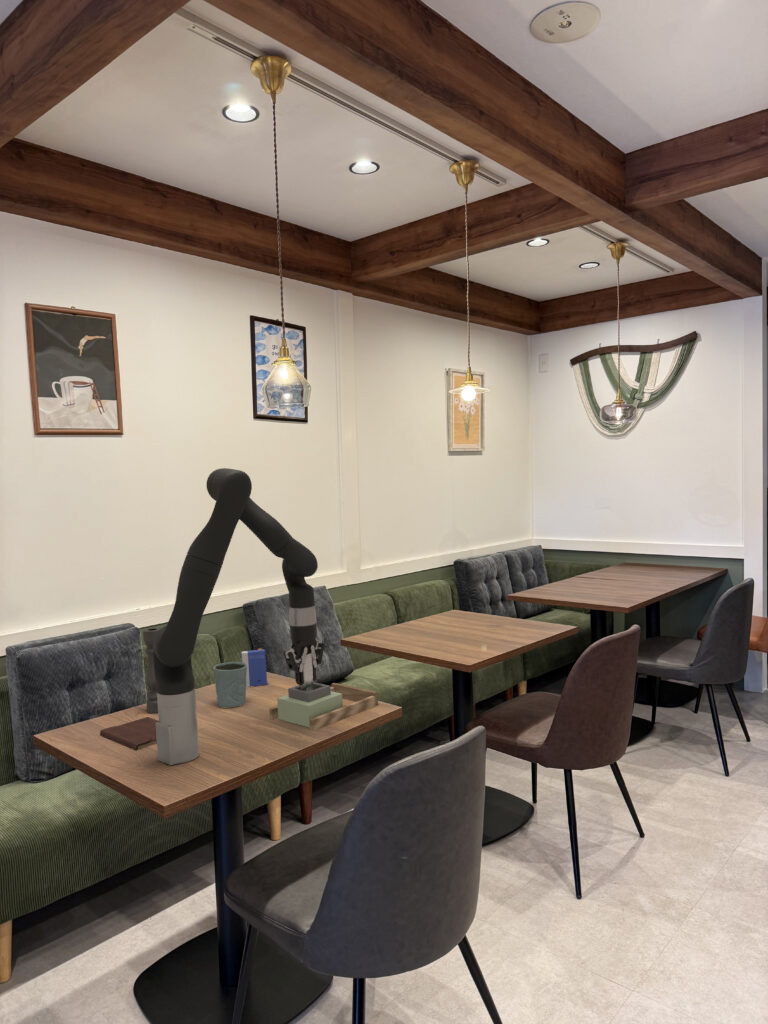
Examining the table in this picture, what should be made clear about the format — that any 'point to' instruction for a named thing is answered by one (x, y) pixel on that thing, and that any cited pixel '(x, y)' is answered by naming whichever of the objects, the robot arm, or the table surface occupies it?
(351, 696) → the bay
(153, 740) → the notebook
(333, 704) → the green stepped block
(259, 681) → the walkman
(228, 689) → the teal cup
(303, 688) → the handle
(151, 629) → the candle holder
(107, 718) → the table surface
